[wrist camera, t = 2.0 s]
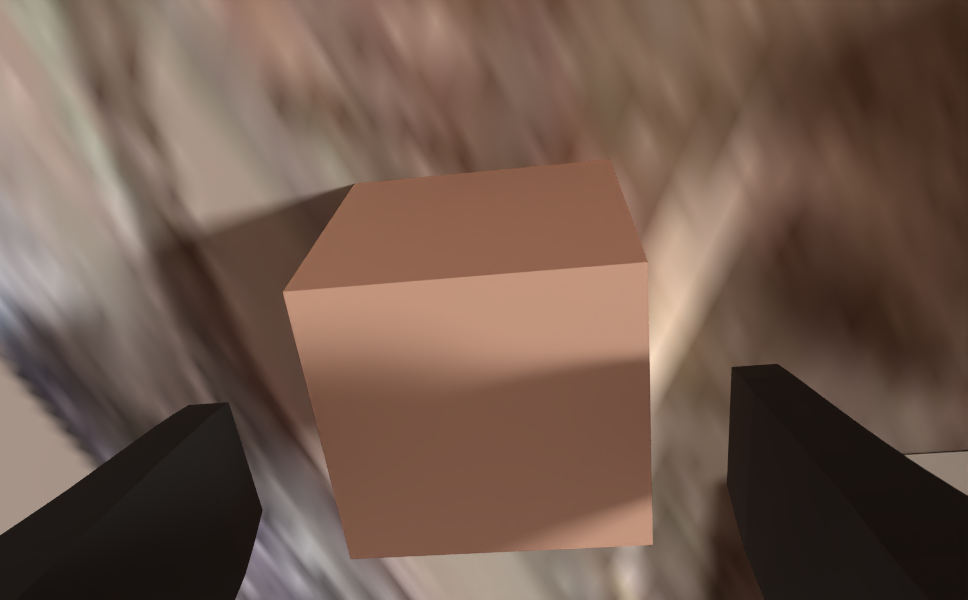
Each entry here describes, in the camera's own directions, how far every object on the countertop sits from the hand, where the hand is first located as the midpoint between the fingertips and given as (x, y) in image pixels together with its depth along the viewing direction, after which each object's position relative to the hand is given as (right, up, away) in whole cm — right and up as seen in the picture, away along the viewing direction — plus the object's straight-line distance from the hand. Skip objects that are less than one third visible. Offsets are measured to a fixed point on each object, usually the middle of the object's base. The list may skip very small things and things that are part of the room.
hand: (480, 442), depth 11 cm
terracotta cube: (0, +2, +5) cm, 6 cm away
